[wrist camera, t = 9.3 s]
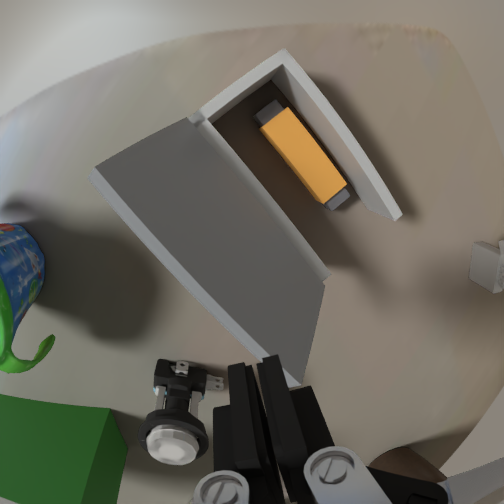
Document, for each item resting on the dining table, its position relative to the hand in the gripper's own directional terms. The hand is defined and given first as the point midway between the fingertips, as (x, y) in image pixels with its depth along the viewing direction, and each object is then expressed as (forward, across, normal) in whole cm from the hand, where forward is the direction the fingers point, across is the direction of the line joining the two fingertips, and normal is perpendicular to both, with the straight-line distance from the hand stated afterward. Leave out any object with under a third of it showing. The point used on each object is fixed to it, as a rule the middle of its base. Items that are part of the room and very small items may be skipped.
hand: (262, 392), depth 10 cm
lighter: (+17, -25, +6) cm, 31 cm away
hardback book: (+17, +27, +16) cm, 36 cm away
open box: (+17, -6, -6) cm, 19 cm away
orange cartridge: (+17, -6, -6) cm, 19 cm away
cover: (+8, 0, -3) cm, 8 cm away
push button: (+17, +7, +11) cm, 21 cm away
